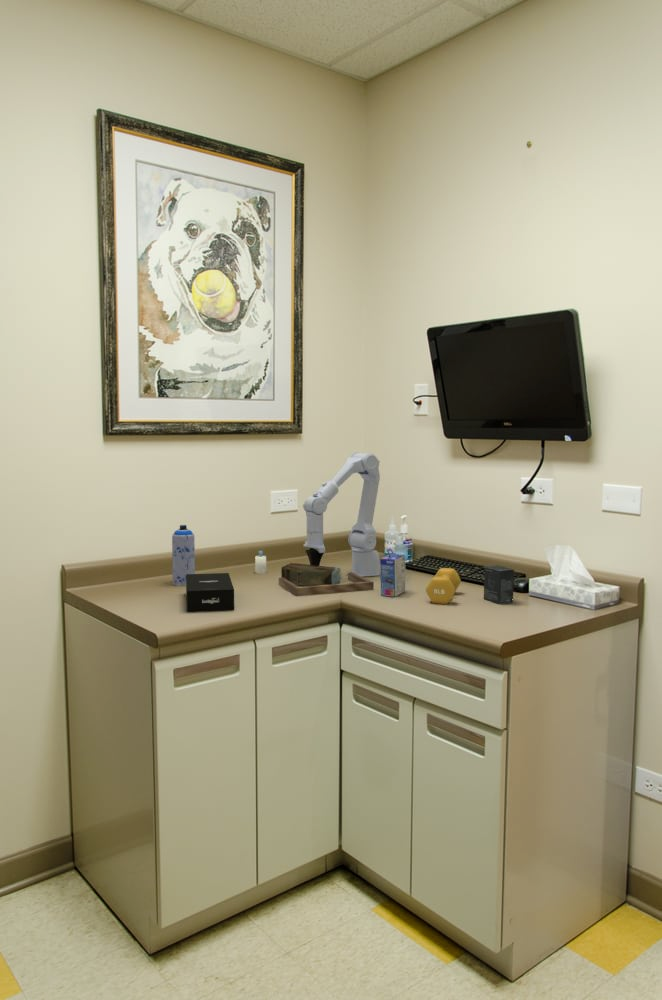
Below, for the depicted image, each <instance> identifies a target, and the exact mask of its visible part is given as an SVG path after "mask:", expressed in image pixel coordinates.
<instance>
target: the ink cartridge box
mask: <svg viewBox="0 0 662 1000" xmlns="http://www.w3.org/2000/svg"><path fill="white" fill-rule="evenodd" d="M386 552H387V555H386V556H384V557H380V558H379V571H380V595H381V596H385V597H391V598H395V597H398V596H399V595H401V594H402V593H404V592H406V555H405V554H401V553H400V554H399V553H394V552H393V549H392V548H387V549H386Z"/></svg>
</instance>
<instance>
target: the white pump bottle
mask: <svg viewBox="0 0 662 1000" xmlns="http://www.w3.org/2000/svg"><path fill="white" fill-rule="evenodd" d="M263 554H264V550H258V555H255V557H254V559H255V560H254V563H255V564H254V569H255V570H254V573H255V574H258V575H265V574H266V573H267V555H263Z"/></svg>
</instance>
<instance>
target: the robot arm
mask: <svg viewBox="0 0 662 1000" xmlns="http://www.w3.org/2000/svg"><path fill="white" fill-rule="evenodd" d="M379 468H380V460H379V458H378V457H377V456H376V455H375V454H374V453H371V452H369V453H365V452H364V453H360V452H353V453H352V454H351V455H350V456H349V457H348V458H346V462H345V463H344V465H343V466H342V467H341V469H339V471H338V472H337V473H336V474H335V476H334V477H333V478H332V479H331V480H326V481H323V482H322V483H321V486H320V487H319V488H318V489H317V490H316V491H314V492H313V494H312V495H311V496H309V497H306V499H305V500H304V502H303V503H304V504H302V508H303V509H304V511H305V516H306V540H305V541H304V543H303V547H305V548H309V549H306V550H305V553H306V555H307V557H308V560H309V565H317V566H321V565H320V563H321V560H322V558H323V556H324V555H325V553H326V547H325V544H324V512H326V510H327V509H328V504H329V503H330V502H331V501H332V500H333V499H334V497H335V496H336V495H337V494H338V493H339V487H341V485H343V484H344V483H345V482H346V481H347V480H348V479H349V478H350V477H351V476H352V475H354V474H359V475H360V477H361V478H362V479H363V483H362V485H363V486H362V491H361V496H360V503H359V509H358V515H357V520H356V523H355V524H354V525H353V526H352V527H351V531H350V534H349V535H348V538H347V542H348V545H349V546H350V549H351V572H352V573H355V574H357V575H359V576H361V577H363V578H366V577H374V576H375V577H376V576H378V577H379V576H381V573H380V555H379V551H378V550H376V549H375V548H376V546H377V538H376V537H377V535H376V534H377V531H376V529H375V528H374V526H373V521H374V517H375V516H374V515H375V508H376V503H377V496H378V491H379V490H378V489H379V485H380V479H381V476H380V475H381V474H380V470H379Z"/></svg>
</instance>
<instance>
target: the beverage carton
mask: <svg viewBox="0 0 662 1000" xmlns="http://www.w3.org/2000/svg"><path fill="white" fill-rule="evenodd" d="M280 569H281V577H283V578H285V579H287V580H288V581H290V582H292V583H293V584H295V585H297V586H299V587H306V586H319V585H331V584H341V569H342V568H340V567H337V566H325V565H319V566H317V565H310V564H304V563H295V562H294V563H293V562H290V563H288V564H286V565H284V566H282V567H281V568H280Z"/></svg>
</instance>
